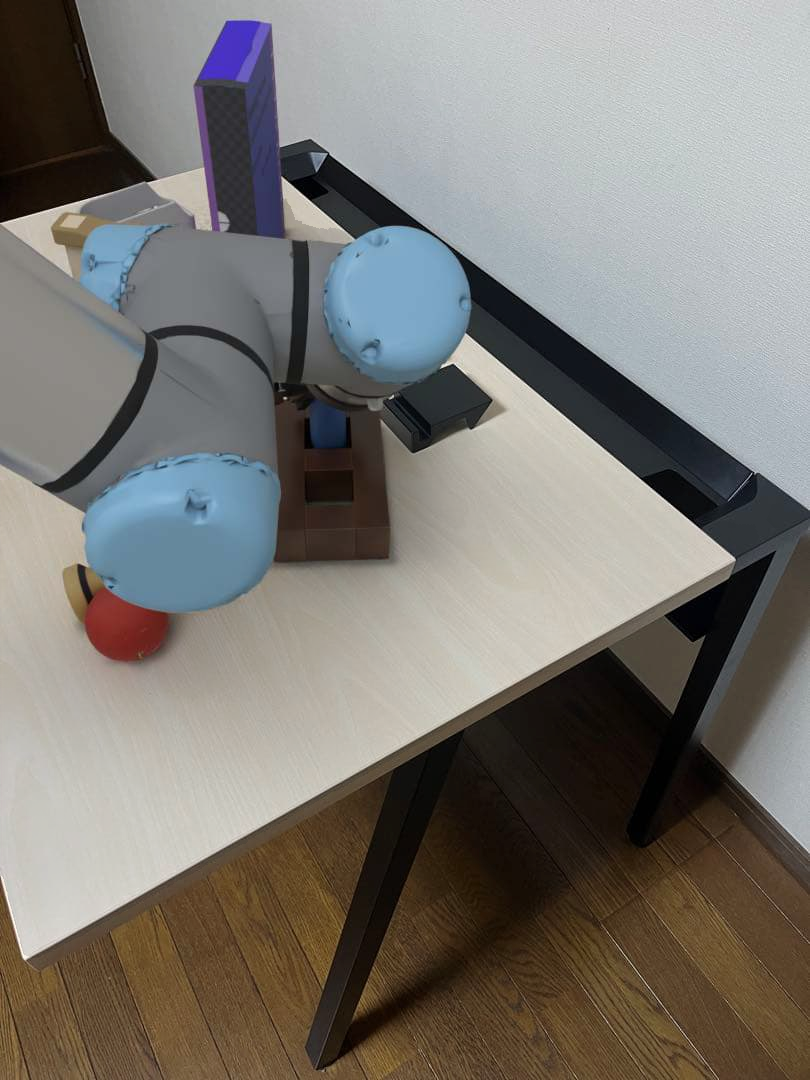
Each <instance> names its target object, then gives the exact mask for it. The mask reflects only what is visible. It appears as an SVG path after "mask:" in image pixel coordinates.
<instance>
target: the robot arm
mask: <svg viewBox="0 0 810 1080" xmlns="http://www.w3.org/2000/svg"><path fill="white" fill-rule="evenodd" d="M470 290H471V288H470V284H469V281H468V277H467V275H466V273H465V270H464V268H463V265H462V264H461V263H460V260H459V259H458V258H457V257H456V255H455V254H454V253H453V252H452V250H451V249H450V248H448V246H447V245H446V244H444V243H443V242H442V241H441V240H440V239H438V238H436V237H435V236H434V235H432V234H430V233H428V232H426V231H424V230H421V229H419V228H415V227H411V226H406V225H388V226H382V227H378V228H376V229H373V230H370V231H368V232H366V233H364V234H363V235H361V236H359V237H357V238H356V239H355V240H354V241H350V242H348V243H342V242H332V241H331V242H330V241H322V240H321V241H320V240H309V239H305V240H297V239H293V240H291V239H289V238H283V239H281V238H272V237H263V236H254V235H245V234H236V233H227V232H218V231H212V230H209V229H207V230H206V229H199V228H196V229H192V228H183V227H175V226H173V225H170V224H164V223H162V224H160V225H154V226H146V225H115V224H106V225H102V226H99V227H97V228H95V229H94V230H93V231H92V232H91V233H90V234H89V235H88V237H87V239H86V241H85V243H84V246H83V250H82V255H81V276H80V279H79V282H78V281H76V280H75V279H74V278H73V276H72V275H70V274H68V273H67V272H66V271H64V270H63V269H61V268H60V267H59V266H58V265H56V264H55V263H54V262H52V260H49V258H47V257H45V256H44V255H43V254H41V252H39V251H37V250H36V249H35V248H33V247H32V246H31V245H29V244H28V243H26V242H25V241H24V240H23V239H21V238H20V237H18V236H17V234H15V233H14V232H12V231H10V229H8V228H7V227H5V226H4V225H2V224H1V223H0V466H1V467H2V468H3V467H4V468H5V469H7V470H8V471H11V472H13V473H15V475H16V474H17V475H18V476H20V477H21V478H23V479H25V480H27V481H29V482H31V483H32V484H33V485H35V486H37V487H39V488H41V489H42V490H44V491H46V492H48V493H49V494H51V495H52V496H54V497H56V498H57V499H59V500H61V501H63V502H64V503H67V505H70V506H72V507H73V508H75V509H76V510H79V511H81V512H83V513H84V517H83V519H82V522H81V532H82V533H83V534H84V535H85V539H84V553H85V557H86V558H85V559H86V561H87V564H88V565H89V568H91V569H92V570H93V572H95V573H96V574H97V576H98V577H99V578H100V579H101V580H102V581H103V582H104V585H105V587H106V588H107V589H108V590H109V591H110V592H112V593H113V594H115V595H116V596H118V597H120V598H121V599H123V600H125V601H127V602H129V603H131V604H134V605H137V606H140V607H143V608H147V609H151V610H156V611H162V612H168V613H171V614H172V613H174V614H190V613H199V612H205V611H210V610H214V609H218V608H221V607H223V606H227V605H230V604H231V603H233V602H235V601H237V600H238V599H239V598H240V597H242V596H243V595H247V594H248V593H249V592H250V591H252V590H253V589H254V588H255V587H256V586H258V585H259V584H260V583H261V581H262V580H263V579H264V578H265V577H266V575H267V574H268V573H269V571H270V568H271V566H272V564H273V558H274V555H275V551H276V539H277V525H278V512H279V503H280V500H281V489H280V481H279V478H278V465H277V445H276V425H275V406H276V405H280V404H281V403H284V399H286V400H287V401H290V402H292V403H296V407H297V411H299V410H305V409H306V408H307V407H308V406H309V405H310V404H311V403H312V397H316V398H317V399H318V400H320V401H321V402H323V403H324V404H326V405H328V406H329V407H332V408H334V409H337V410H341V411H347V412H359V411H364V410H368V409H370V410H371V411H380V412H381V410H383V408H384V402H386V401H387V400H389V399H390V398H392V397H393V396H394V395H395V394H397V393H399V392H401V391H403V390H404V389H406V388H408V387H409V386H412V385H413V384H414V383H421V382H423V381H424V380H425V379H428V378H431V377H432V376H434V375H435V374H437V372H439V371H440V370H441V369H442V366H443V365H444V364H446V363H447V361H448V359H450V357H451V356H453V354H454V353H455V352H456V350H457V349H458V348H459V345H461V343H462V341H463V339H464V337H465V335H466V333H467V330H468V327H469V324H470V323H469V322H470V317H471V311H472V308H473V307H472V300H471V299H472V298H471V291H470Z"/></svg>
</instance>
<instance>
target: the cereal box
mask: <svg viewBox="0 0 810 1080" xmlns="http://www.w3.org/2000/svg"><path fill="white" fill-rule="evenodd" d="M273 39H274V38H273V24H272V23H270V22H264V21H259V20H250V19H247V20H246V19H245V20H243V19H242V20H241V19H240V20H239V19H237V20H226V21H225V23H224V25H223V27H222V29H221V30H220V32H219V35H218V36H217V38H216V41H215V42H214V44H213V46H212V48H211V50H210V52H209V54H208V55H207V58H206V59H205V62H204V63H203V66H202V68H201V70H200V71H199V74H198V76H197V78H196V80H195V82H194V84H193V93H194V100H195V101H194V102H195V108H196V116H197V123H198V131H199V138H200V139H199V140H200V146H201V153H202V161H203V169H204V177H205V182H206V183H205V184H206V191H207V199H208V206H209V215H210V221H211V222H210V223H211V231H218V232H227V233H236V234H245V235H254V236H263V237H272V238H281V239H285V238H284V237H285V234H286V226H285V225H286V224H285V209H284V194H283V193H284V192H283V178H282V165H281V164H282V163H281V150H280V149H281V147H280V130H279V118H278V117H279V115H278V102H277V86H276V72H275V71H276V70H275V57H274V56H275V54H274V40H273Z"/></svg>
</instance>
